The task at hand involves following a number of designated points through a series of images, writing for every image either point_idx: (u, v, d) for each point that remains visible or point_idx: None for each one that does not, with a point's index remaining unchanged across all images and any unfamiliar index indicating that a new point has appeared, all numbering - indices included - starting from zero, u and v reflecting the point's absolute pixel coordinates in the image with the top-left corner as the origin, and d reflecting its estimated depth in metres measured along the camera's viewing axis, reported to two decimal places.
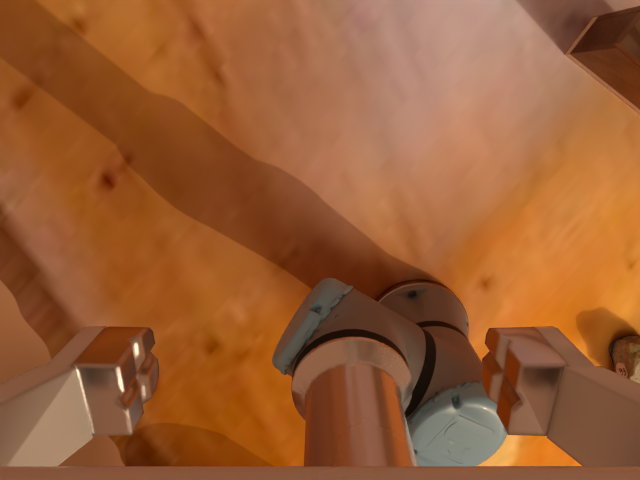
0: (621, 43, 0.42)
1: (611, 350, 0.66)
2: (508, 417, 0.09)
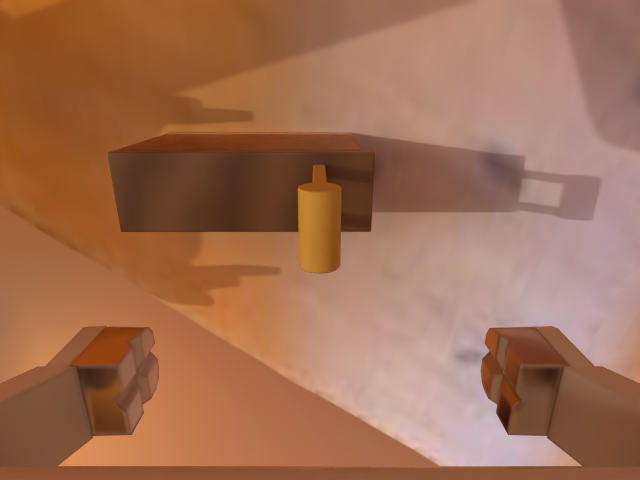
0: (371, 153, 0.24)
1: None
2: (508, 417, 0.09)
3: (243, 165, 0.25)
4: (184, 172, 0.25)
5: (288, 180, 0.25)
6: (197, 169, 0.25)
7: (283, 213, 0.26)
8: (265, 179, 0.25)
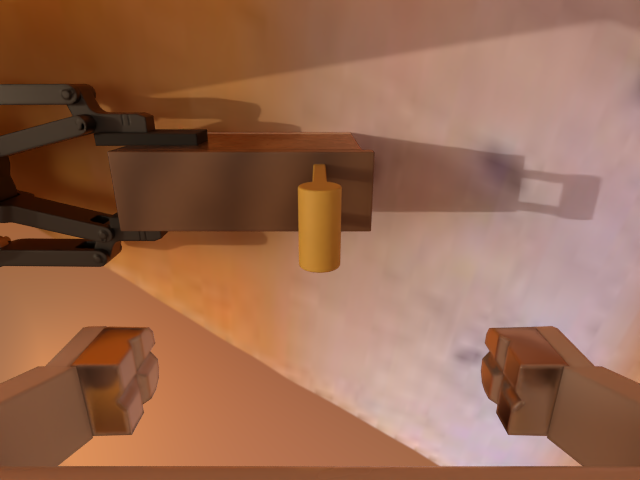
0: (371, 153, 0.24)
1: None
2: (508, 417, 0.09)
3: (243, 164, 0.25)
4: (184, 171, 0.25)
5: (288, 179, 0.25)
6: (197, 168, 0.25)
7: (283, 212, 0.26)
8: (265, 178, 0.25)
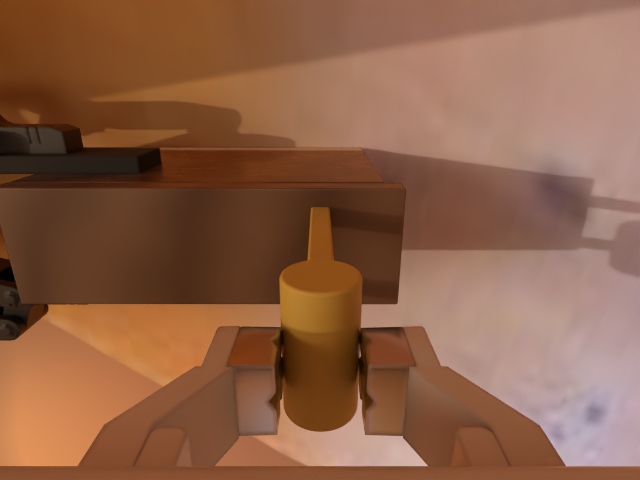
0: (401, 190, 0.16)
1: None
2: (364, 417, 0.09)
3: (202, 207, 0.16)
4: (111, 217, 0.16)
5: (272, 230, 0.16)
6: (131, 213, 0.16)
7: (265, 278, 0.17)
8: (236, 228, 0.16)
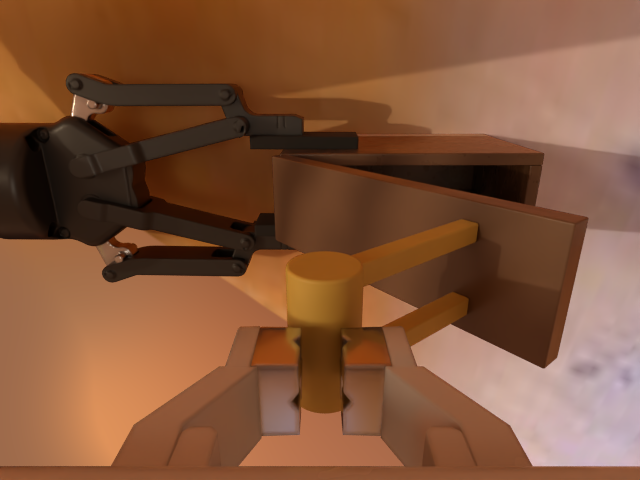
0: (568, 224, 0.12)
1: None
2: (343, 417, 0.09)
3: (374, 196, 0.18)
4: (322, 190, 0.20)
5: None
6: (332, 190, 0.20)
7: (412, 278, 0.17)
8: (396, 222, 0.17)
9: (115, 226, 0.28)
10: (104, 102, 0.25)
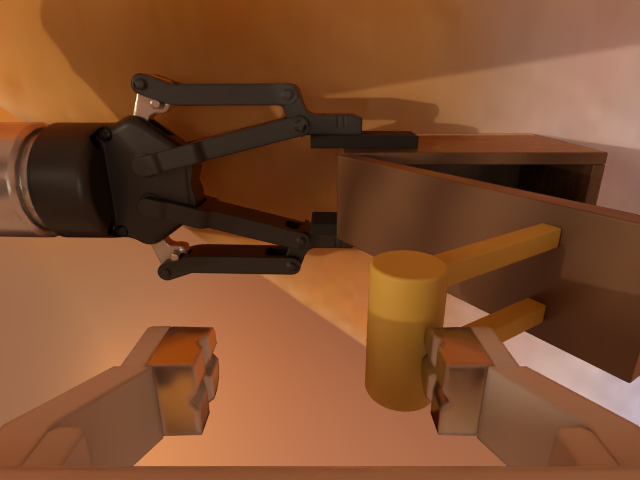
0: None
1: None
2: (438, 417, 0.09)
3: (446, 197, 0.17)
4: (388, 190, 0.20)
5: (498, 236, 0.16)
6: (400, 190, 0.20)
7: (483, 282, 0.17)
8: (468, 224, 0.17)
9: (172, 224, 0.28)
10: (168, 102, 0.25)
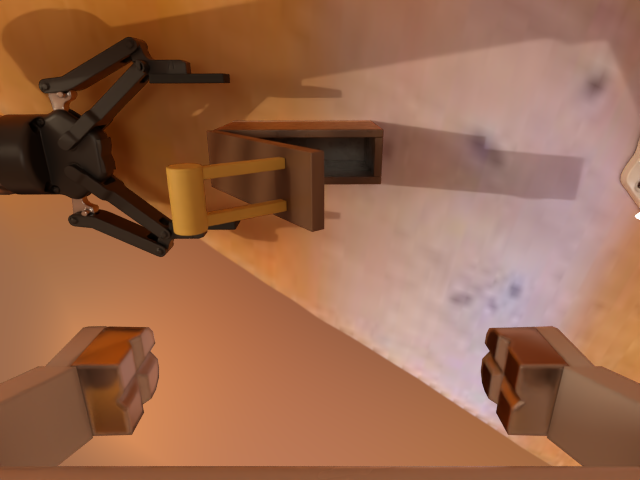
0: (309, 153, 0.24)
1: None
2: (508, 417, 0.09)
3: (249, 149, 0.30)
4: (229, 150, 0.33)
5: None
6: (233, 149, 0.33)
7: (267, 196, 0.30)
8: None
9: None
10: (66, 89, 0.37)
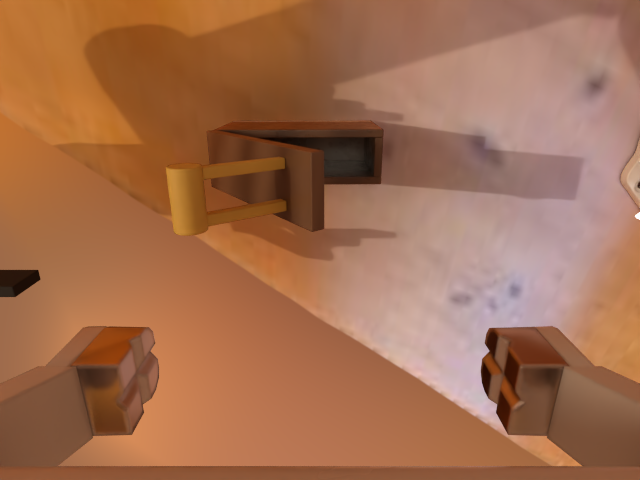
0: (309, 152, 0.24)
1: None
2: (508, 417, 0.09)
3: (249, 149, 0.30)
4: (229, 150, 0.33)
5: None
6: (233, 149, 0.33)
7: (267, 196, 0.30)
8: None
9: None
10: None
